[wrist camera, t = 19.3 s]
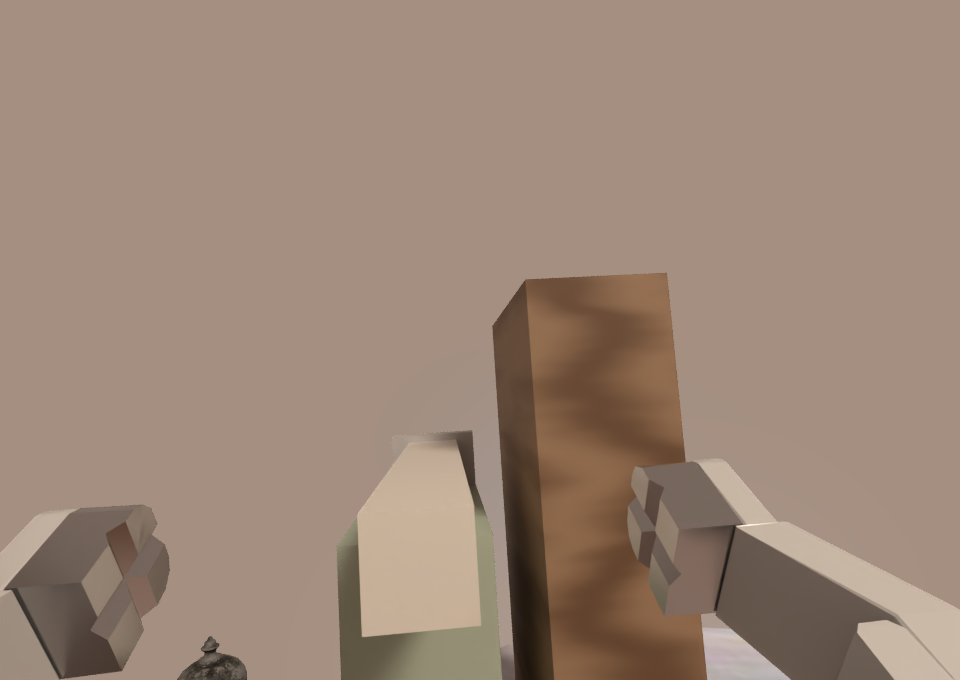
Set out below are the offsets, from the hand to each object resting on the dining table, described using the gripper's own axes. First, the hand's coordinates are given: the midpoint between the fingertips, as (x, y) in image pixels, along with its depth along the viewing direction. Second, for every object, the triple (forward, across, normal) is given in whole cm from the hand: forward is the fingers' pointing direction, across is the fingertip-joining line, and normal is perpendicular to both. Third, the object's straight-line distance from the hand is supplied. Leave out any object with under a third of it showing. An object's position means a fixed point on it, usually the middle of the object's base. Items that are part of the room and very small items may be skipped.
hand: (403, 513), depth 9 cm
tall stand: (+7, -7, +27) cm, 28 cm away
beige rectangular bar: (+10, 0, +10) cm, 14 cm away
